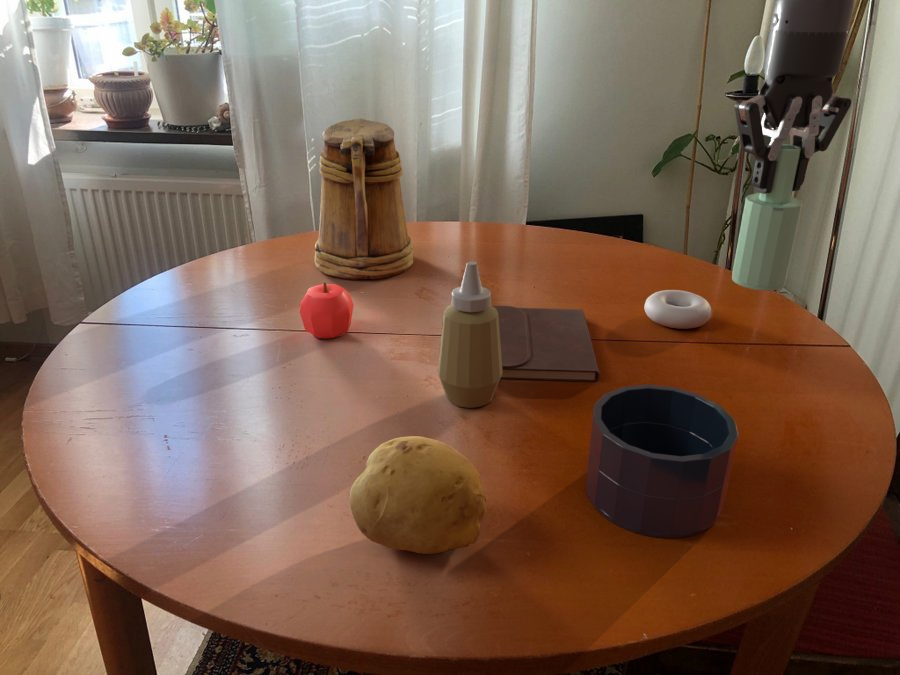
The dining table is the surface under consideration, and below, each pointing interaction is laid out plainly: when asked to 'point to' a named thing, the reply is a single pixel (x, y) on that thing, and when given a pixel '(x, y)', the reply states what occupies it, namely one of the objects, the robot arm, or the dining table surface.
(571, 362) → the notebook
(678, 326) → the donut
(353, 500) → the potato
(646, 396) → the pot
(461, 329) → the squeeze bottle
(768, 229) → the bottle
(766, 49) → the robot arm
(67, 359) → the dining table surface
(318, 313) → the apple
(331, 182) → the tankard
